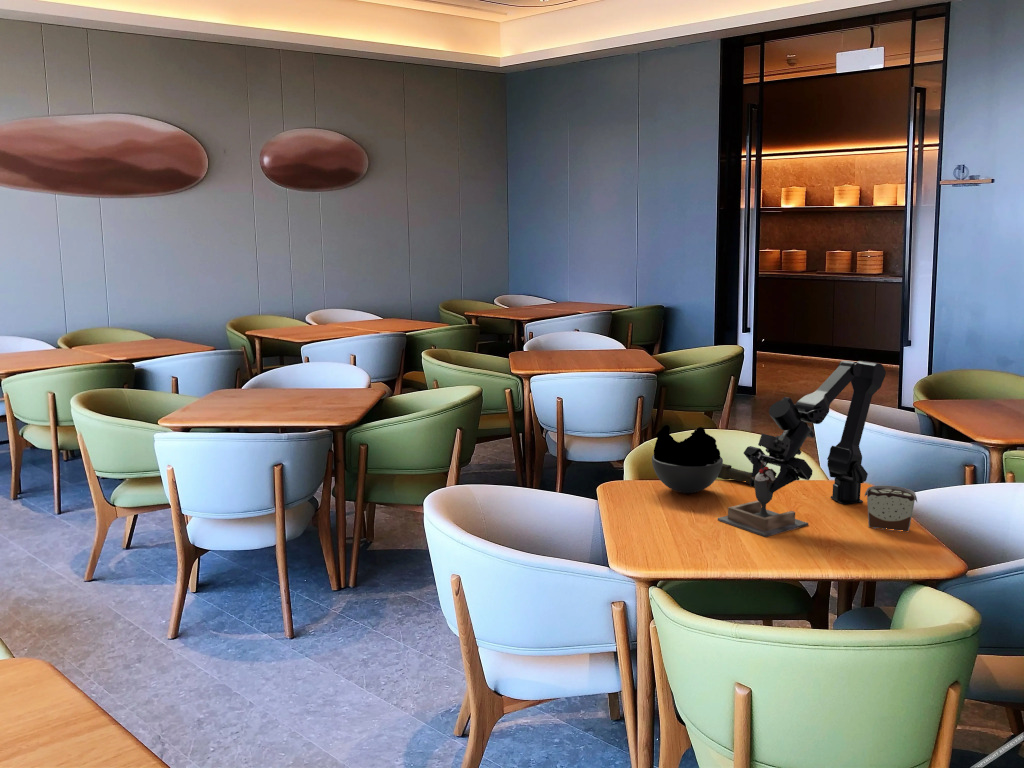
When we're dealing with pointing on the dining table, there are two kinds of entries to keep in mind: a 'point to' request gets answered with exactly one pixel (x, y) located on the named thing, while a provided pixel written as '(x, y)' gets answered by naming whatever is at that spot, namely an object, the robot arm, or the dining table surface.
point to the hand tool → (734, 474)
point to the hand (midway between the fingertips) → (760, 488)
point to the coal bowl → (686, 461)
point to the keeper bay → (761, 519)
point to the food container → (890, 507)
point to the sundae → (764, 488)
